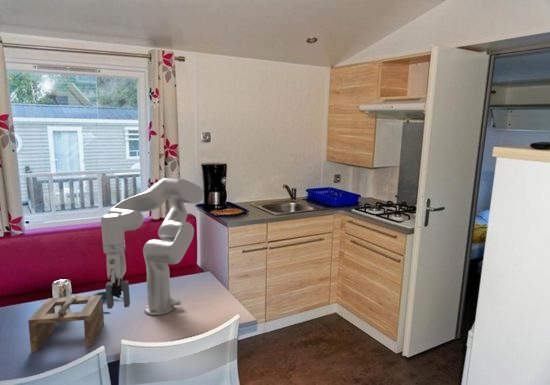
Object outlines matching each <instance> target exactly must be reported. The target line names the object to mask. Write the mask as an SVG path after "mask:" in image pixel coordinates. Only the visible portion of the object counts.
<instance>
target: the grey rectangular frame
mask: <svg viewBox="0 0 550 385" xmlns="http://www.w3.org/2000/svg"><path fill="white" fill-rule="evenodd" d="M117 282H118V281H117ZM120 285H121V290H123V291H122V297H123V298H124V300H123V306H124V308H130V305H131V299H130V298H131V296H130V288H129V287H130V283H129V280H122V281H120ZM105 291H106V297H107V299H106V308H107V309H108V310H110V309H113V307H114V305H115V304H114V302H115V301H114V296H112V287H111V281H107V282H106V284H105Z"/></svg>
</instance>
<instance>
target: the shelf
mask: <svg viewBox="0 0 550 385" xmlns="http://www.w3.org/2000/svg"><path fill="white" fill-rule="evenodd" d="M103 301H104V300H103V299H102V295H95V296H92V295H85V296H84V295H83V296H82V295H80V296H77V295H76V294H75V293H73V294H72V295H71V296H70V297H63V298H53V297H52V298H50V297H49V298H47V299H46V300H45V301H44V302H43V303H42V304H41V306H40V307H39V308H38V309H37V310H36V311H35V312H34V313H33V314H32V315H31V316H30V318H29V319H28V321H27V322H28V323H27V324H28V332H29V334H28V335H29V342H30V344H29V345H30V352H31V353H34V352H38V351H39V350H40V348H42V346H43V345H44V343H45V342H46V340H47V339H48V338H49V337H50V335H51V334H52V333H53V331H54V330H55V328H56V327H57V323H63V322H76V321H77V322H78V321H79V322H80V321H83V327H84V341H85V342H84V343H85V348H91V347H93V345H94V343H95V341H96V339H97V337H98V335H99V333H100V331H101V329H102V328H103V325H104V323H105V319H104V318H105V317H104V313H103V311H104V302H103ZM60 305H63V306H62V308H61V309H60V310H59V311H58V313H56V306H60ZM72 305H84V306H83V307H82V309H81V311H72V312H67V313H65V312H66V310H67V309H68V308H69V306H70V307H71V306H72Z"/></svg>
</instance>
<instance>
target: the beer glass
mask: <svg viewBox="0 0 550 385" xmlns="http://www.w3.org/2000/svg"><path fill="white" fill-rule="evenodd" d="M51 290H52V298H63V297H70V296H71V295H72V293H73V292H72V283H71V280H70V279H59V280H55V281H53V282H52V288H51ZM62 306H63V305H60V306H55V313H58V311H59V310H60V309H61V308H62ZM67 312H73V311H72V307H71V305H70V306H69V308H68V309H67V310H66V312H65V313H67Z"/></svg>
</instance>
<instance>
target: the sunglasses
mask: <svg viewBox="0 0 550 385" xmlns="http://www.w3.org/2000/svg"><path fill="white" fill-rule="evenodd" d="M95 295H102V299H103V301H104V300H105V301H106V300H107V297H106V290H102V291H97V292H95V293H93V294H92V295H91V296H95ZM114 297H115V298H117V299H122V301H124V297H123V296H122V295H119V296H114ZM103 314H110V312H109V311H105V310H103Z"/></svg>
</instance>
